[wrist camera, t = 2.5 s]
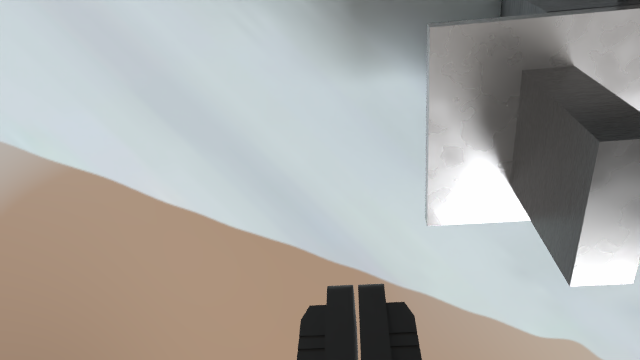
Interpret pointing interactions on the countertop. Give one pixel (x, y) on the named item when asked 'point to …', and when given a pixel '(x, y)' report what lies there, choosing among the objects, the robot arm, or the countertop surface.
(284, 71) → the countertop surface
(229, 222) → the countertop surface
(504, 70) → the lid
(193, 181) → the countertop surface
